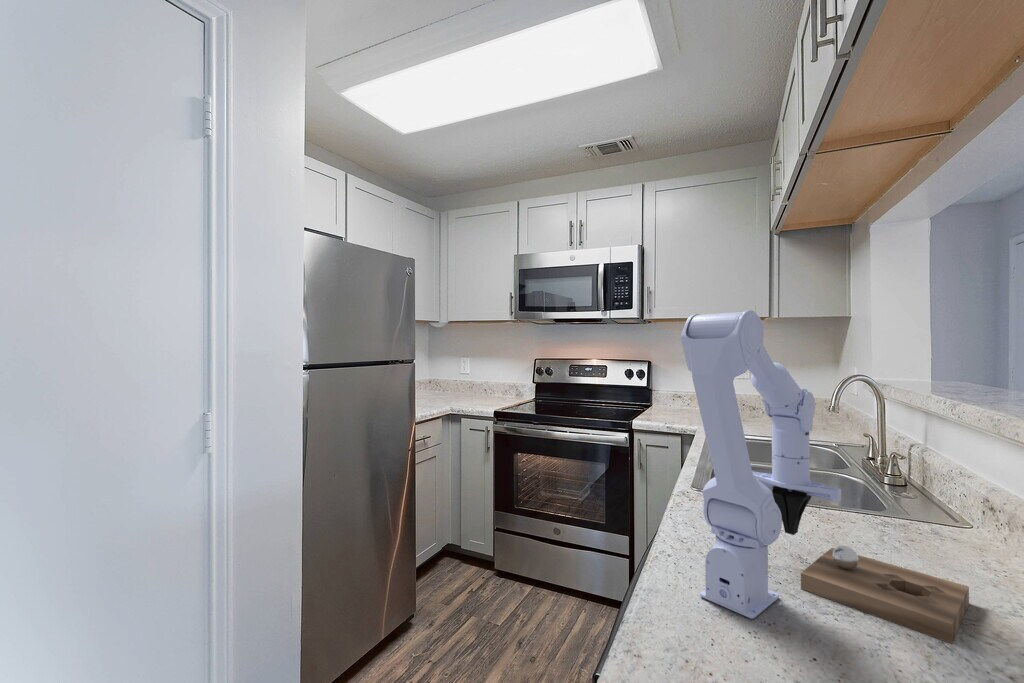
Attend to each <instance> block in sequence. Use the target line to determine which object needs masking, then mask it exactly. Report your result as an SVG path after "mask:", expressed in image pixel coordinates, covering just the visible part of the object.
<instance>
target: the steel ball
mask: <svg viewBox="0 0 1024 683" xmlns="http://www.w3.org/2000/svg"><path fill="white" fill-rule="evenodd" d="M834 548H835V549H834V550H833V553H832V556H833V559H834V561H835V563H836V564H837V565H838V566H840V567H842V568H844V569H854V568H855V567H857V565H858V563H859V557H858V555H859V554H857V552H856V551H855V550H854V549H853V548H852V547H849V546H847V545H839V546H835V547H834Z"/></svg>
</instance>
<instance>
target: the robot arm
mask: <svg viewBox="0 0 1024 683" xmlns="http://www.w3.org/2000/svg"><path fill="white" fill-rule="evenodd" d="M764 333H765V330H764V324H763V321H762V319H761V318H760V316H759V315H758V314H757V312H755V311H754V310H751V309H748V310H747V309H746V310H744V311H738V312H737V311H736V312H734V311H733V312H721V313H720V312H719V313H706V314H700V313H694V314H691V315H690V316H688V317H687V320H686V321H685V324H684V326H683V329H682V332H681V334H680V341H681V344H682V345H681V346H682V348H683V353H684V356H685V361H686V366H687V369H688V371H690V372H691V377H692V383H693V387H694V392H695V396H696V400H697V404H698V408H699V412H700V418H701V421H702V425H703V426H702V428H703V429H704V431H703V432H704V435H705V439H706V444H707V447H708V451H709V458H710V460H711V465H712V469H713V473H714V477H712V478H711V479H709V480H708V482H706V483H705V485H704V487H703V489H702V491H701V492H702V496H703V498H702V499H703V503H702V504H703V505H702V513H703V518H704V520H705V522H706V524H707V525H708V526H709V527H711V529H710V530H711V534H714V535H715V541H714V544H713V546H712V548H710V549H709V550H708V552H707V554H706V555H705V562H704V563H705V567H704V568H705V589H704V590H702V591H700V592H699V596H700V597H701V598H703V599H705V600H708V601H710V602H712V603H715V604H716V605H718V606H719V605H720V607H724V608H726V609H728V610H730V611H733V612H735V613H737V614H739V615H741V616H744V617H746V618H748V619H752V620H753V619H755V618H756V617H757V616H759V615H760V614H761V613H762V612H763V611H765V610H766V609H767V608H768V607H769V606H771V605H772V604H773V603H774V602H775V601H776V600H778V599H779V598H780V594H779V593H778V592H775V591H773V590H770V589H769V546H770V545H772V544H774V543H775V542H776V541H777V540H778V538H779V536H780V534H781V531H782V526H783V529H784V533H785V534H789V535H792V536H794V535H796V534H797V533H798V532H799V527H800V522H801V520H802V516H803V514H804V512H805V509H806V508H807V506H808V505H809V503H810V501H811V499H812V497H815V498H820V499H824V500H828V501H830V502H832V503H839V502H841V501H842V488H839V487H834V486H830V485H827V484H823V483H820V482H817V481H814V480H811V467H810V466H811V465H810V463H811V461H810V452H811V451H810V450H811V449H810V432H811V431H813V427H814V425H813V424H814V423H813V422H814V416H815V414H816V413H815V412H816V400H815V395H814V394H813V393H812V392H811V391H808V389H806V388H801V387H800V386H799V384H798V383H797V382H796V380H795V379H794V377H792V374H790V372H789V370H787V368H786V367H785V366H784V364H782V363H781V362H780V363H779V362H774V361H773V360H772V358H771V356H770V354H769V352H768V350H767V349H766V347H765V345H764V337H765V336H764ZM747 371H749V372H750V373H751V377H750V382H751V385H752V386H753V387H754V388H755V390H756V391H757V392H758V394H759V395H760V396H761V397H762V398H761V399H762V400H761V401H762V403H763V406H764V412H765V415H766V416H768V417H769V418H771V473H766V472H758V471H753V469H752V464H751V459H750V455H749V450H748V445H747V440H746V437H745V432H744V427H743V422H742V418H741V413H740V407H739V404H738V398H737V394H736V391H735V390H736V389H735V385H734V380H735V378H736V377H738V376H741V375H743V374H745V373H747ZM771 488H772V489H771Z"/></svg>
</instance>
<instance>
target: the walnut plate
mask: <svg viewBox="0 0 1024 683" xmlns="http://www.w3.org/2000/svg"><path fill="white" fill-rule="evenodd" d="M835 548H836V547H831V548H829V549H828V550H827V551H826V552H824V553H823V554H822V555H821V556H820V557H819V558H817V559H816V560H815V561H814V562H812V563H811V564H810V565H809V566H807V567H806V568H804V570H803V571H801V572H800V590H803V591H805V592H808V593H812V594H813V595H814V594H815V595H817V596H819V597H822V598H826V599H828V600H830V601H834V602H836V603H839V604H841V605H845V606H847V607H850V608H852V609H855V610H858V611H861V612H864V613H866V614H870V615H872V616H874V617H877V618H880V619H882V620H886V621H888V622H891V623H894V624H897V625H900V626H902V627H905V628H908V629H910V630H913V631H916V632H918V633H922V634H925V635H927V636H929V637H933V638H935V639H937V640H941V641H944V642H947V643H949V644H952V645H953V643H954V642H955V639H956V637H957V634H958V633H959V632H958V631H959V629H960V627H961V624H962V622H963V619H964V617H965V614H966V612H967V609H968V607H969V604H970V586H967V585H964V584H961V583H958V582H955V581H954V582H953V581H950V580H947V579H944V578H940V577H936V576H933V575H929V574H926V573H923V572H919V571H915V570H913V569H909V568H906V567H901V566H899V565H895V564H891V563H888V562H884V561H880V560H878V559H874V558H869V557H866V556H863V555H860V554H857V555H858V557H859V563H858V565H857V567H855V568H854V569H844V568H842V567H840V566H838V565H837V564H836V563H835V561H834V559H833V556H832V553H833V550H834V549H835Z"/></svg>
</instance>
